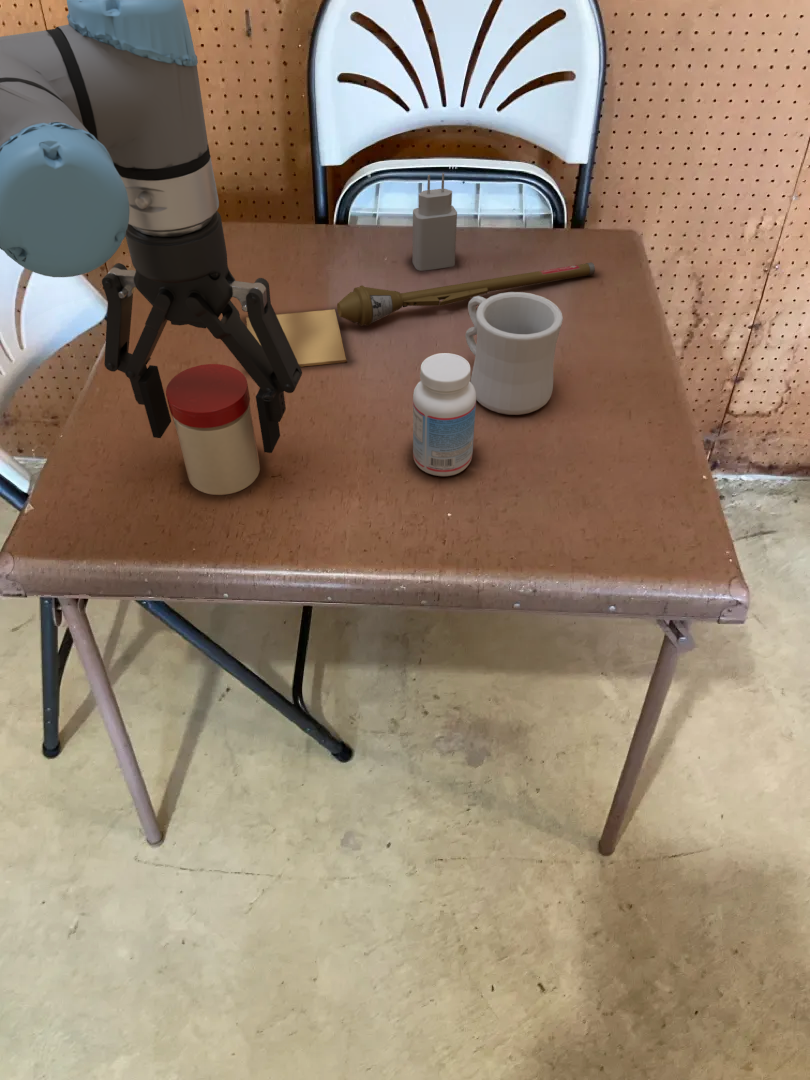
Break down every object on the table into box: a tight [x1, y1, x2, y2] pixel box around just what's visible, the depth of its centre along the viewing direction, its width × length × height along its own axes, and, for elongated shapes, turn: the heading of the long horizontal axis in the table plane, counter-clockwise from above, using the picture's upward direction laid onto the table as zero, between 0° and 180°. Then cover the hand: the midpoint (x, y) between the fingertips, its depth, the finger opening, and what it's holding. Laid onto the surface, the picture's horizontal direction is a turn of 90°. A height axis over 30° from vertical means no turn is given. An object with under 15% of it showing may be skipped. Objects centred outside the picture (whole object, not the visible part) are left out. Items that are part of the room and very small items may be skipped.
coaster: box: [245, 308, 347, 368], centre depth 100 cm, size 11×11×1 cm
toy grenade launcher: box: [336, 261, 596, 327], centre depth 106 cm, size 5×35×5 cm
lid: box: [165, 363, 251, 428], centre depth 78 cm, size 8×7×2 cm
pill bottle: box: [412, 352, 477, 477], centre depth 82 cm, size 6×6×11 cm
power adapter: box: [411, 172, 458, 272], centre depth 109 cm, size 3×5×12 cm, turn 105°
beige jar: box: [172, 402, 261, 496], centre depth 81 cm, size 7×7×10 cm
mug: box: [464, 291, 564, 416], centre depth 91 cm, size 12×9×10 cm
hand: (216, 436), depth 81 cm, fingers open, 10 cm apart
